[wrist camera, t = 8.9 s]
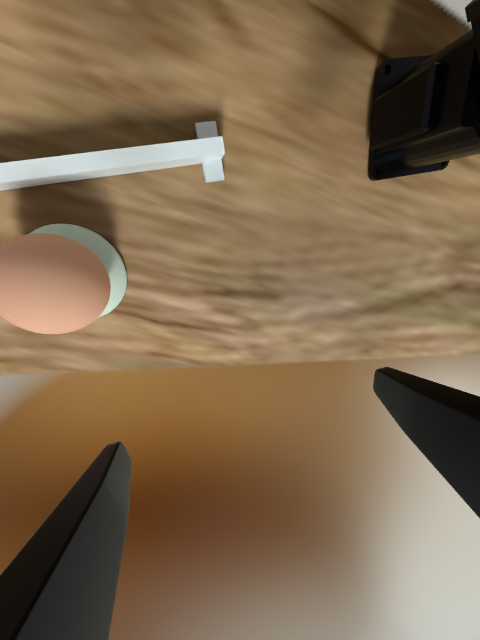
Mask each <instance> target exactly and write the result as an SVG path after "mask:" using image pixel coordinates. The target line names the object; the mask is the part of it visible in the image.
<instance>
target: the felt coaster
mask: <svg viewBox="0 0 480 640" xmlns="http://www.w3.org/2000/svg"><path fill="white" fill-rule="evenodd" d="M33 233H49V234H56V235H60V236H64V237H67V238H70V239H73V240H75V241H77V242H79V243H81V244H82V245H84V246H86V247H87V248H88V249H90V250H91V251H92V252H93V253H94V254H95V255H96V256H97V257H98V258H99V259H100V260H101V262H102V263H103V265H104V266H105V268H106V270H107V272H108V275H109V278H110V284H111V291H110V298H109V301H108V304H107V306H106V308H105V309H104V311H103V312H102V314H101V315H100V316H99V317H101V316H103V315H105V314H107V313H109V312H110V311H112V310H113V309H114V308H115V307H116V306H117V305H118V304H119V303H120V301H121V300H122V298H123V296H124V294H125V291H126V287H127V273H126V269H125V265H124V263H123V261H122V259H121V257H120V255H119V254H118V252H117V251H116V250H115V248H114V247H113V246H112V245H111V244H110V243H109V242H108V241H107V240H105V239H104V238H103V237H101V236H100V235H98V234H97V233H95V232H93V231H91V230H89V229H87V228H84V227H81V226H77V225H72V224H50V225H46V226H42V227H40V228H37V229H35V230H34V231H32V232H31V233H29V234H33Z"/></svg>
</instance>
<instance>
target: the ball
mask: <svg viewBox="0 0 480 640" xmlns="http://www.w3.org/2000/svg"><path fill="white" fill-rule="evenodd" d="M110 291H111V284H110V278H109V275H108V272H107V270H106V268H105V266H104V265H103V263H102V262H101V260H100V259H99V258H98V257H97V256H96V255H95V254H94V253H93V252H92V251H91V250H90V249H88V248H87V247H86V246H84V245H82V244H81V243H79V242H77V241H75V240H73V239H70V238H67V237H64V236H60V235H56V234H49V233H33V234H26V235H22V236H18V237H15V238H13V239H10V240H9V241H7V242H5V243H3V244H2V245H0V315H1V316H2V317H3V318H5V319H6V320H8V321H9V322H11V323H12V324H14V325H16V326H18V327H21V328H23V329H26V330H29V331H33V332H37V333H43V334H62V333H68V332H72V331H76V330H79V329H81V328H83V327H85V326H87V325H89V324H90V323H92V322H93V321H94V320H96V319H97V318H98V317H99V316H100V315H101V314H102V312H103V311H104V309H105V308H106V306H107V304H108V301H109V298H110Z"/></svg>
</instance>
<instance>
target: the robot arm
mask: <svg viewBox="0 0 480 640" xmlns="http://www.w3.org/2000/svg"><path fill="white" fill-rule="evenodd" d="M465 11H466V16H467V21H468V22H470V21H471V25H472V30H471V31H470V32H468V33H467V34H465V35H464V36H462V37H460V38H459V39H457V40H456V41H454V42H453V43H451V44H450V45H448V46H447V47H445V48H444V49H442V50H441V51H439V52H438V53H436V54H434V55H430V56H418V57H406V58H394V59H387V60H385V61H384V62H383V63H381V64H380V65H379V66H378V68H377V70H376V77H375V91H374V104H373V118H372V132H371V147H370V161H369V178H370V180H372V181H376V180H382V179H388V178H394V177H401V176H407V175H413V174H419V173H425V172H432V171H438V170H443V169H445V168H446V167H447V165H448V163H449V160H453V159H457V158H462V157H467V156H471V155H476V154H480V0H473V1H472V2H471V3H470V4H469V5H467V6H466V7H465ZM384 68H385V70H386V75H385V74H384ZM376 170H377V171H378V173H377V175H376V173H375V172H376ZM373 389H374V392H375V393H376V395H377V396H378V398H379V399H380V400H381V402H382V403H383V404H384V406H385V407H386V409H387V410H388V411H389V413H390V414H391V415H392V417H393V418H394V419H395V421H396V422H397V423H398V425H399V426H400V427H401V429H402V430H403V431H404V432H405V434H406V435H407V436H408V437H409V438H410V439H411V440H412V442H413V443H414V444H415V445H416V446H417V447H418V449H419V450H420V451H421V452H422V453H423V454H424V455H425V456H426V458H427V459H428V460H429V461H430V462H431V463H432V465H433V466H434V467H435V468H436V469H437V470H438V471H439V473H440V474H441V475H442V476H443V477H444V478H445V479H446V480H447V482H448V483H449V484H450V485H451V486H452V487H453V488H454V489H455V491H456V492H457V493H458V494H459V495H460V496H461V498H463V500H464V501H465V502H466V503H467V504H468V506H470V508H471V509H472V510H473V511H474V512H475V513H476V515H477V516H478V517H479V518H480V397H479V396H476V395H473V394H470V393H467V392H463V391H461V390H458V389H454V388H451V387H448V386H445V385H442V384H439V383H436V382H433V381H430V380H427V379H424V378H420V377H417V376H414V375H411V374H408V373H405V372H402V371H399V370H396V369H393V368H389V367H384V368H380V369H377V370H376V371H375V375H374V383H373ZM131 467H132V463H131V458H130V456H129V454H128V452H127V450H126V448H125V446H124V445H123V443H122V442H115V443H112V444H109V445H107V446H106V447H105V448H104V449H103V450H102V452H101V453H100V454H99V455H98V456H97V458H96V459H95V460H94V462H92V464H91V465H90V466H89V467H88V469H87V470H86V471H85V472H84V474H83V475H82V476H81V477H80V478H79V480H78V481H77V482H76V483H75V484H74V486H73V487H72V488H71V489H70V491H69V492H68V493H67V494H66V495H65V497H64V498H63V499H62V500H61V502H60V503H59V504H58V505H57V507H56V508H55V509H54V510H53V511H52V513H51V514H50V515H49V516H48V517H47V519H46V520H45V521H44V523H43V524H42V525H41V526H40V527H39V528H38V530H37V531H36V532H35V533H34V535H33V536H32V537H31V538H30V540H29V541H28V542H27V543H26V545H25V546H24V547H23V548H22V549H21V551H20V552H19V553H18V554H17V555H16V557H15V558H14V559H13V560H12V561H11V563H10V564H9V565H8V566H7V568H6V569H5V570H4V571H3V572H2V574H1V575H0V640H108V638H109V632H110V625H111V620H112V614H113V608H114V601H115V595H116V589H117V583H118V577H119V571H120V565H121V559H122V553H123V547H124V541H125V535H126V529H127V522H128V512H129V511H128V510H129V497H130V496H129V495H130V482H131Z"/></svg>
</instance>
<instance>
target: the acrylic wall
mask: <svg viewBox="0 0 480 640" xmlns="http://www.w3.org/2000/svg"><path fill="white" fill-rule="evenodd" d="M195 129H196V135H197V139H195V140H187V141H178V142H170V143H162V144H154V145H145V146H137V147H129V148H121V149H112V150H104V151H96V152H88V153H79V154H71V155H63V156H55V157H46V158H38V159H30V160H22V161H13V162H5V163H0V191H2V190H9V189H17V188H24V187H32V186H39V185H46V184H54V183H61V182H69V181H76V180H83V179H91V178H98V177H105V176H113V175H120V174H128V173H135V172H142V171H150V170H157V169H165V168H172V167H179V166H187V165H194V164H202V168H203V173H204V178H205V183H210V182H216V181H223V180H224V173H223V166H222V157H223V156H224V154H225V151H224V144H223V137H222V136H220V137H218V133H217V127H216V121H209V122H200V123H195Z"/></svg>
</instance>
